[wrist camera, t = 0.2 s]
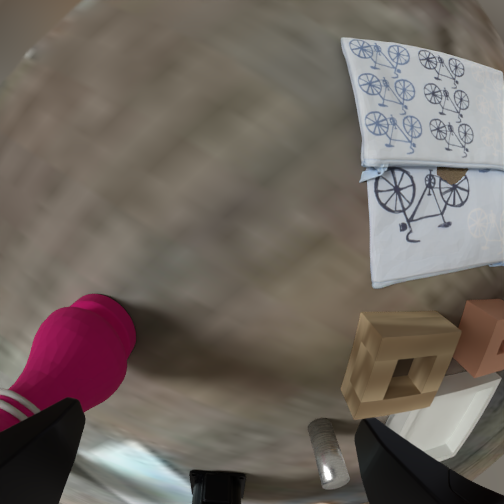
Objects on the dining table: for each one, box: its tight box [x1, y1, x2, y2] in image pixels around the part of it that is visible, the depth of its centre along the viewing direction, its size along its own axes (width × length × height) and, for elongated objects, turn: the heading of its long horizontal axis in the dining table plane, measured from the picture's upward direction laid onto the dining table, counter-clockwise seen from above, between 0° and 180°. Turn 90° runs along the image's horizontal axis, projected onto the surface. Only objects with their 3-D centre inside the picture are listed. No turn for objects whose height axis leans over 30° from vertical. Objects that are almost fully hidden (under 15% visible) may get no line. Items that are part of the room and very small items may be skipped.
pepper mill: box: [0, 294, 136, 432], centre depth 12 cm, size 7×7×20 cm
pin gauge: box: [308, 418, 350, 489], centre depth 22 cm, size 2×2×8 cm
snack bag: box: [341, 38, 504, 289], centre depth 19 cm, size 19×20×2 cm
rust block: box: [453, 299, 504, 378], centre depth 22 cm, size 6×6×5 cm
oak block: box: [341, 311, 462, 420], centre depth 22 cm, size 8×8×4 cm
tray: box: [385, 371, 502, 462], centre depth 25 cm, size 14×14×3 cm
